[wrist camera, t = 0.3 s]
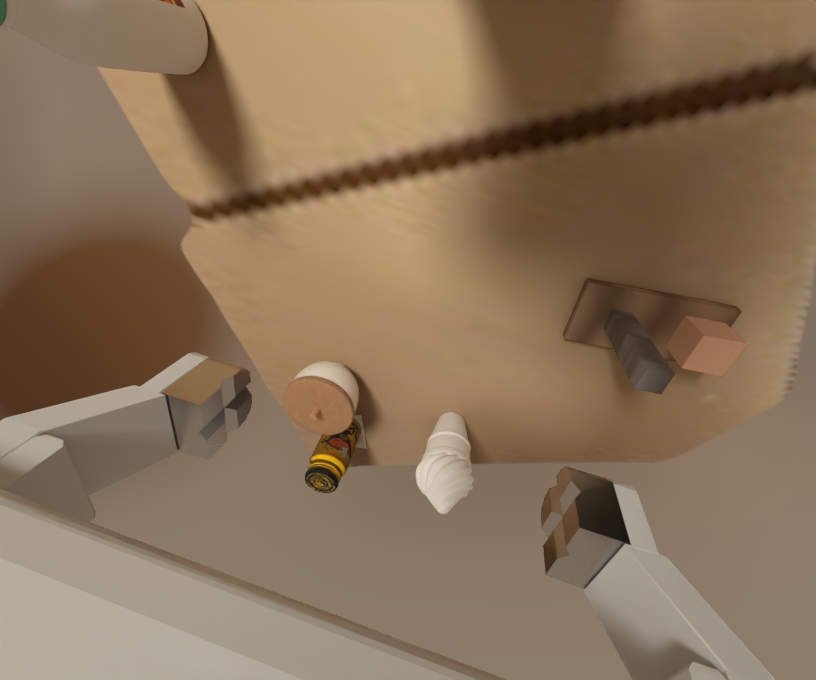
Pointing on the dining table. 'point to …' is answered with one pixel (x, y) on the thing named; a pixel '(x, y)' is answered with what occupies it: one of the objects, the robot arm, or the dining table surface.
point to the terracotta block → (705, 345)
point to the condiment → (334, 456)
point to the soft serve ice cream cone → (446, 464)
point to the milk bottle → (115, 32)
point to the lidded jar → (323, 398)
